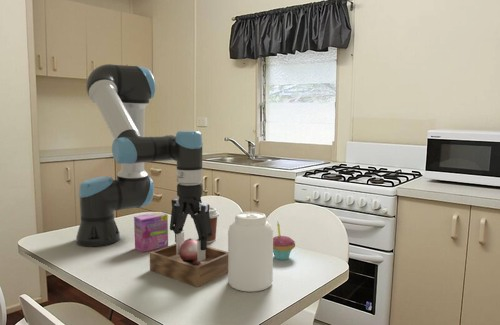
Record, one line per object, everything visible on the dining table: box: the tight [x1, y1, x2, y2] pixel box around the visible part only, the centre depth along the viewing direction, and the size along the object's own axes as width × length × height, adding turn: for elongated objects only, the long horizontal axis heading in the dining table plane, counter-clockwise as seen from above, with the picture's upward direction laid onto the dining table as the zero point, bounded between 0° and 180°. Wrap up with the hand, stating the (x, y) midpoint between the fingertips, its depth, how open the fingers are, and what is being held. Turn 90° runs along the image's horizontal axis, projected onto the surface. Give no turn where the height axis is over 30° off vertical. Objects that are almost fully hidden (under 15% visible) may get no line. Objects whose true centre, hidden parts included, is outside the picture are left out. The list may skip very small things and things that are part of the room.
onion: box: [179, 237, 203, 264], centre depth 123 cm, size 8×8×7 cm
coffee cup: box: [195, 206, 220, 244], centre depth 151 cm, size 9×9×12 cm
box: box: [133, 211, 169, 253], centre depth 143 cm, size 10×6×12 cm, turn 131°
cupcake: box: [273, 220, 296, 261], centre depth 134 cm, size 9×8×12 cm
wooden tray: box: [149, 239, 228, 288], centre depth 123 cm, size 20×15×6 cm
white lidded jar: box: [227, 211, 274, 293], centre depth 113 cm, size 12×12×20 cm
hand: (190, 256), depth 123 cm, fingers open, 8 cm apart
